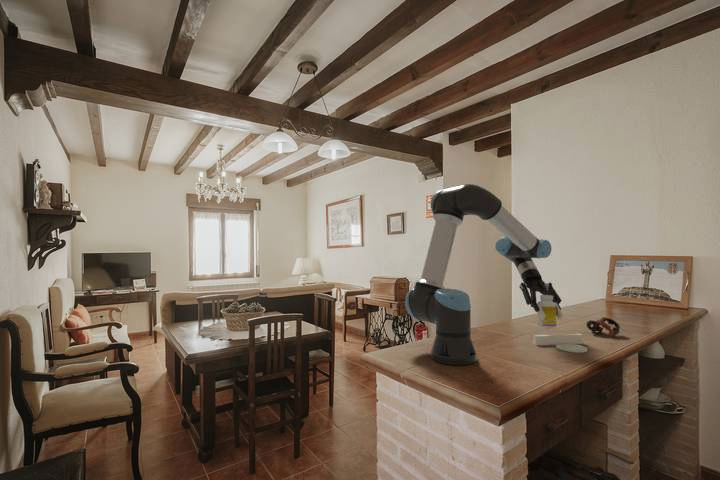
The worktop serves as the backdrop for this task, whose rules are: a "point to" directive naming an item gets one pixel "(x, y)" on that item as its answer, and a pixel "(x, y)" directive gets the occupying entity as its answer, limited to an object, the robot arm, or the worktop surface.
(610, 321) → the brown openwork ring sculpture
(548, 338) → the rail
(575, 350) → the coaster
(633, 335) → the worktop surface
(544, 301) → the supplement bottle
